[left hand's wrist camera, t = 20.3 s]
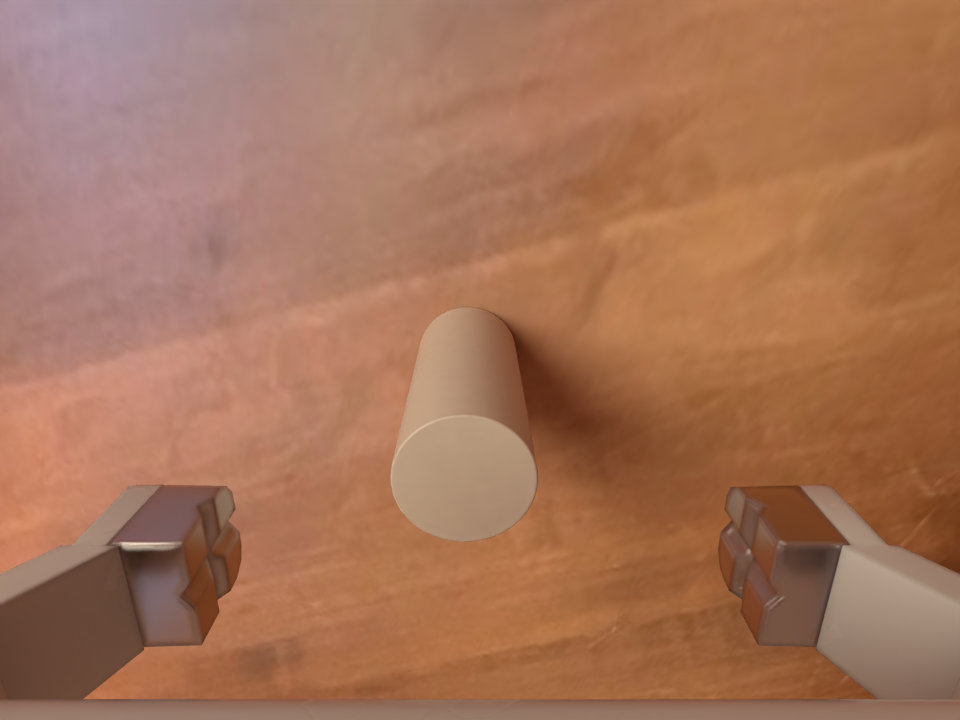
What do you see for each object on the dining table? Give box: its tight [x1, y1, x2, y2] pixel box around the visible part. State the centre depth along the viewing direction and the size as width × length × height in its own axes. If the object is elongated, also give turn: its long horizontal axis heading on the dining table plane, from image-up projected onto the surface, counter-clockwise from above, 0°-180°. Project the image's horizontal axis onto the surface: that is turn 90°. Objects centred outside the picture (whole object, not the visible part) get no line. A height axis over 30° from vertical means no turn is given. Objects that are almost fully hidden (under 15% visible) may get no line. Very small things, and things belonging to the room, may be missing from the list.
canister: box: [391, 307, 538, 542], centre depth 21 cm, size 4×4×10 cm
